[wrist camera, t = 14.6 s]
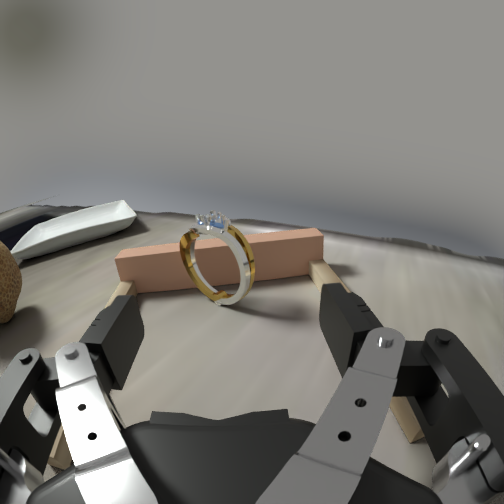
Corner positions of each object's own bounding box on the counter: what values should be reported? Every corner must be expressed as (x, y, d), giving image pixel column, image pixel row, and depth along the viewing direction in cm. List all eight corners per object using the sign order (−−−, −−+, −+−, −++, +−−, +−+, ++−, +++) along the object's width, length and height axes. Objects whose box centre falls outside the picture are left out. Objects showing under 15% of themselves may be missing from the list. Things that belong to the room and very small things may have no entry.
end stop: (315, 262, 30) (315, 227, 29) (322, 272, 28) (323, 235, 26) (131, 283, 29) (122, 249, 27) (124, 294, 26) (114, 258, 25)
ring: (264, 306, 23) (257, 212, 20) (239, 325, 21) (227, 223, 18) (207, 285, 27) (195, 206, 24) (182, 299, 25) (166, 215, 22)
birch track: (322, 272, 28) (323, 259, 27) (432, 432, 10) (443, 416, 9) (124, 294, 26) (120, 281, 26) (49, 464, 8) (33, 451, 8)
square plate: (125, 211, 70) (123, 197, 69) (141, 233, 48) (137, 213, 47) (37, 236, 58) (34, 223, 56) (12, 271, 36) (6, 252, 34)
